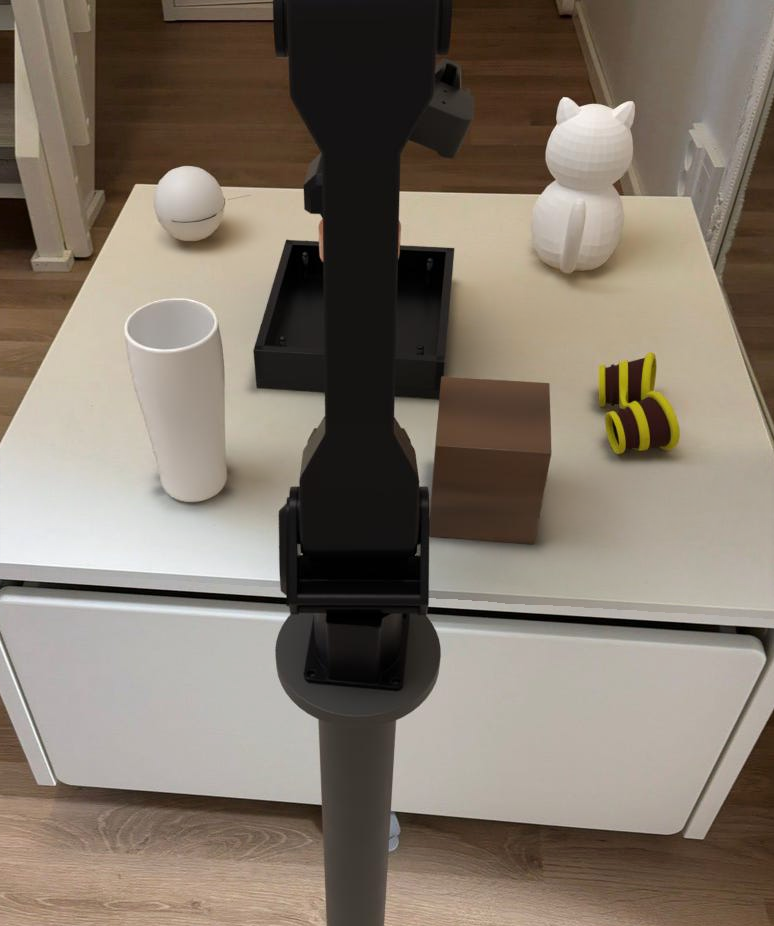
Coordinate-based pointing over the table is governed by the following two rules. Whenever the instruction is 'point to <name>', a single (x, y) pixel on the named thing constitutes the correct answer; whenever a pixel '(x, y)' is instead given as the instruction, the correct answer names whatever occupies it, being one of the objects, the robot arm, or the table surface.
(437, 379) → the tray
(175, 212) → the white ball
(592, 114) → the cat figurine
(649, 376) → the opera glasses
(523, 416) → the block
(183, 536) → the table surface
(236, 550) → the table surface
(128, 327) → the drinking glass
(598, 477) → the table surface
